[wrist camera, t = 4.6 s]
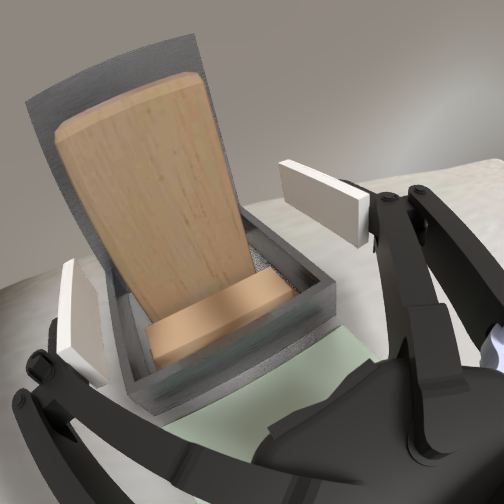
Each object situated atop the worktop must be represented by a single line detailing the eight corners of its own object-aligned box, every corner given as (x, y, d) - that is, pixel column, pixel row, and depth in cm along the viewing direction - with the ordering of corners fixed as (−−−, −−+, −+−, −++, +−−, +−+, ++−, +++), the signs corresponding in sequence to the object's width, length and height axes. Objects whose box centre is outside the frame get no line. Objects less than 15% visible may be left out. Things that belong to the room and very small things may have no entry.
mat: (223, 542, 10) (221, 543, 10) (165, 429, 18) (162, 426, 17) (428, 411, 14) (430, 408, 14) (342, 328, 22) (342, 324, 22)
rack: (154, 416, 19) (-63, 108, 4) (120, 292, 31) (27, 102, 17) (335, 314, 23) (295, -22, 9) (244, 230, 36) (191, 35, 21)
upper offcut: (168, 374, 19) (154, 358, 18) (158, 344, 22) (144, 327, 20) (294, 310, 22) (292, 289, 21) (274, 286, 25) (270, 266, 23)
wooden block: (227, 248, 34) (173, 77, 22) (267, 301, 26) (204, 65, 14) (149, 284, 31) (71, 119, 19) (168, 349, 24) (45, 131, 12)
